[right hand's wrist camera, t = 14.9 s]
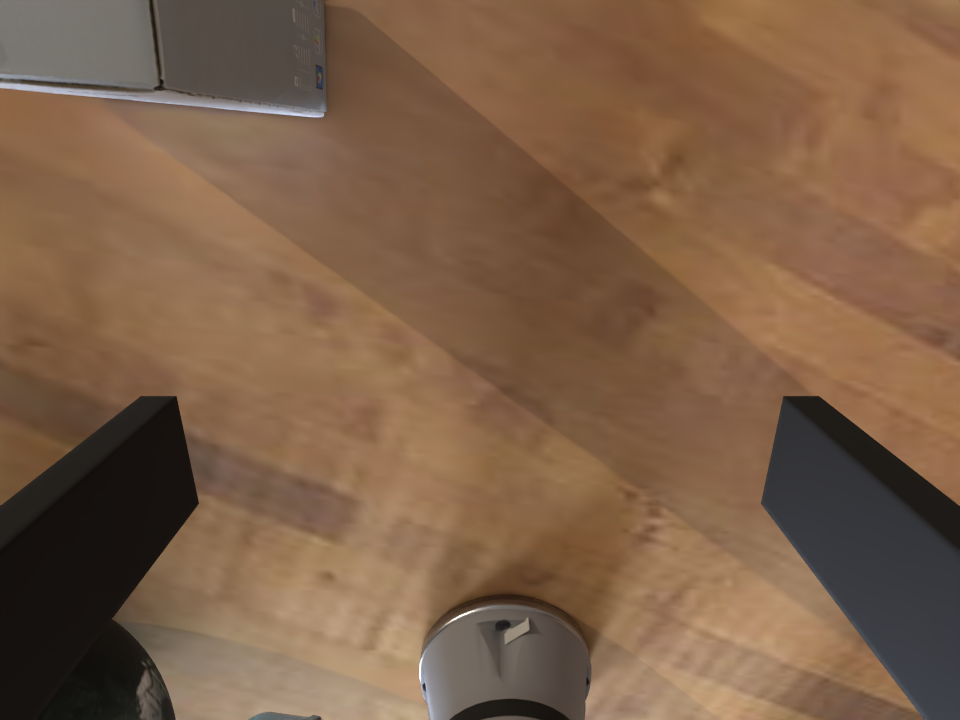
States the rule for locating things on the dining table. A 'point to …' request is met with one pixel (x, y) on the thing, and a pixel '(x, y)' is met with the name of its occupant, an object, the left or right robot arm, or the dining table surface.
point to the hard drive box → (170, 51)
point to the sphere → (112, 683)
